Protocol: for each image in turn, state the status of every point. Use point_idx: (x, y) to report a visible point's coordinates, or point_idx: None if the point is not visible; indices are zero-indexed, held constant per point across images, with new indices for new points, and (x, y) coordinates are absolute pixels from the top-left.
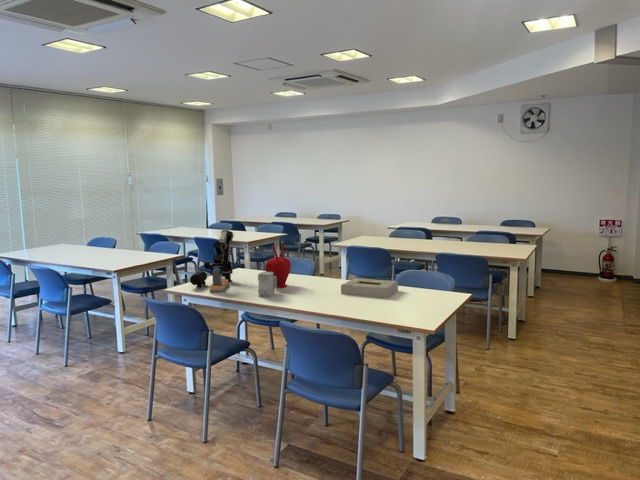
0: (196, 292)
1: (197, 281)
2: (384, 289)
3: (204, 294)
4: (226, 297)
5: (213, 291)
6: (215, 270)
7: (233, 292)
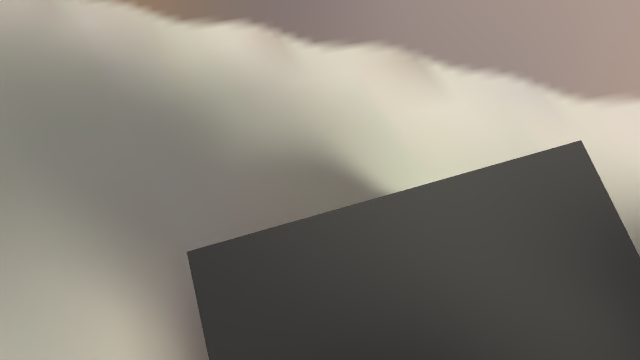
0: (635, 183)
1: None
2: None
3: (435, 103)
4: (47, 26)
5: None
6: (491, 303)
7: (33, 315)
